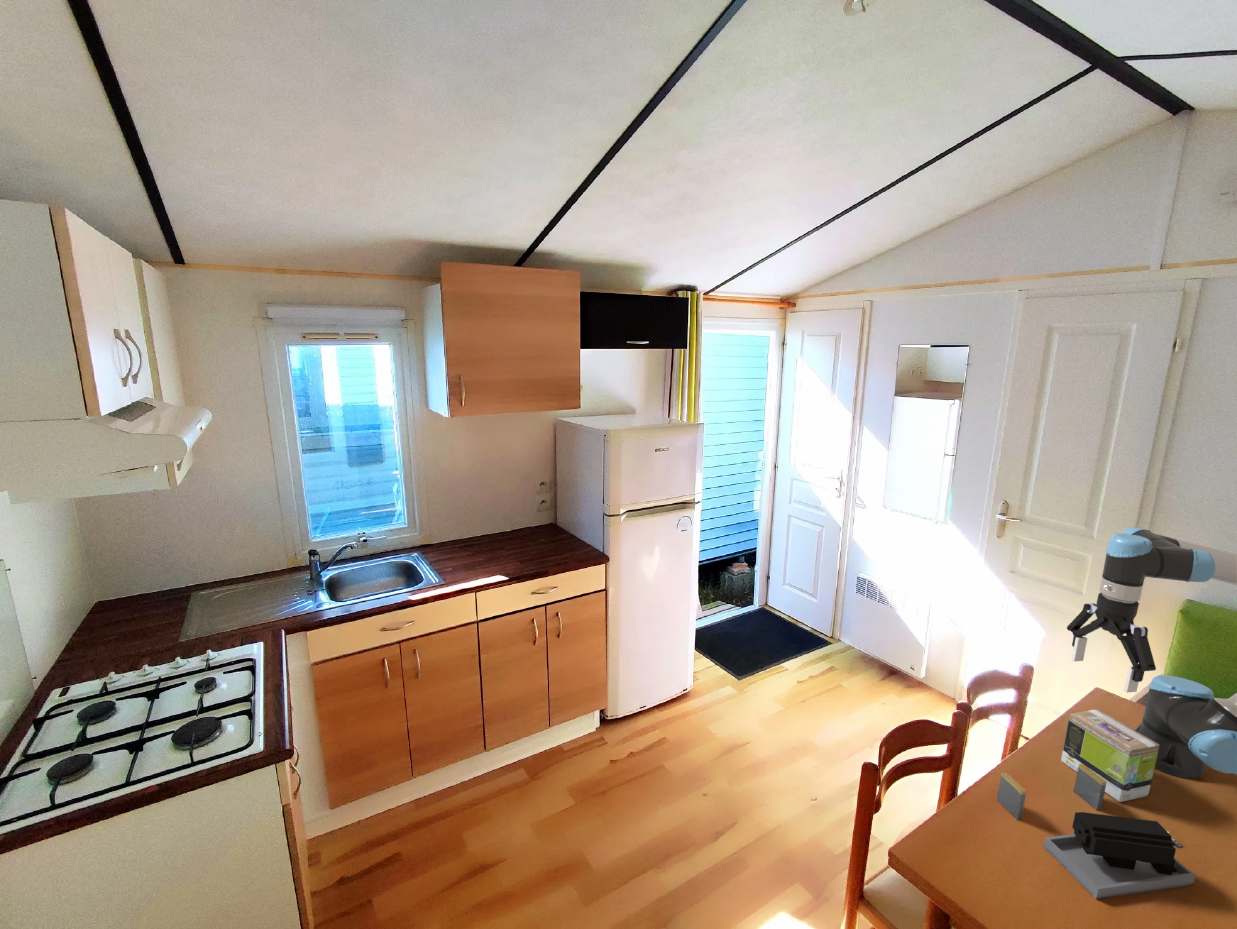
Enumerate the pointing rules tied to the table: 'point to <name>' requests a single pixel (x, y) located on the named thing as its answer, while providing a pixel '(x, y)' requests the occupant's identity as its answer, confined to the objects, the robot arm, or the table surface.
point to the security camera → (1125, 841)
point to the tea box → (1111, 753)
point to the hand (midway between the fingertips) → (1102, 675)
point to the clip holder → (1085, 787)
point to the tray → (1112, 871)
